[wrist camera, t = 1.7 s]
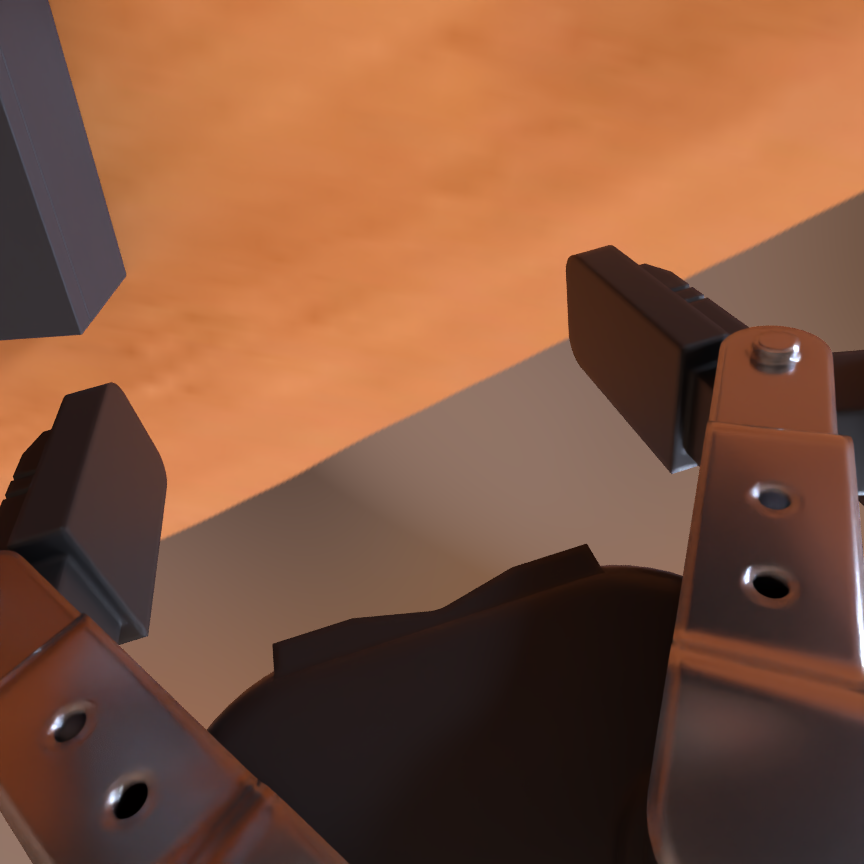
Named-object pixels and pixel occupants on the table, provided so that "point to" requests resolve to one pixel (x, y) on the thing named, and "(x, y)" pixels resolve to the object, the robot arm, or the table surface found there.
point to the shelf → (47, 188)
